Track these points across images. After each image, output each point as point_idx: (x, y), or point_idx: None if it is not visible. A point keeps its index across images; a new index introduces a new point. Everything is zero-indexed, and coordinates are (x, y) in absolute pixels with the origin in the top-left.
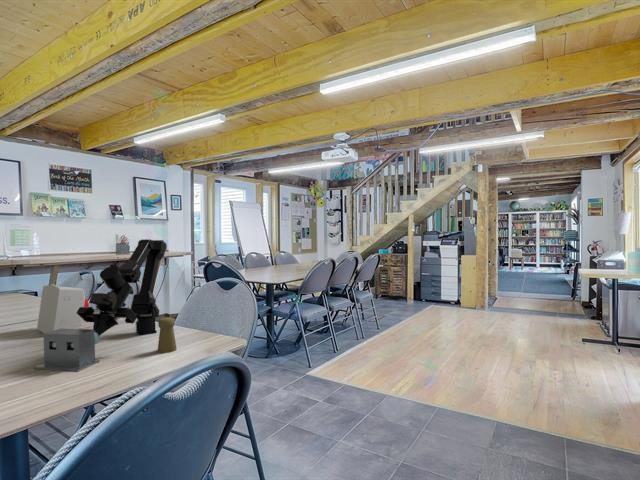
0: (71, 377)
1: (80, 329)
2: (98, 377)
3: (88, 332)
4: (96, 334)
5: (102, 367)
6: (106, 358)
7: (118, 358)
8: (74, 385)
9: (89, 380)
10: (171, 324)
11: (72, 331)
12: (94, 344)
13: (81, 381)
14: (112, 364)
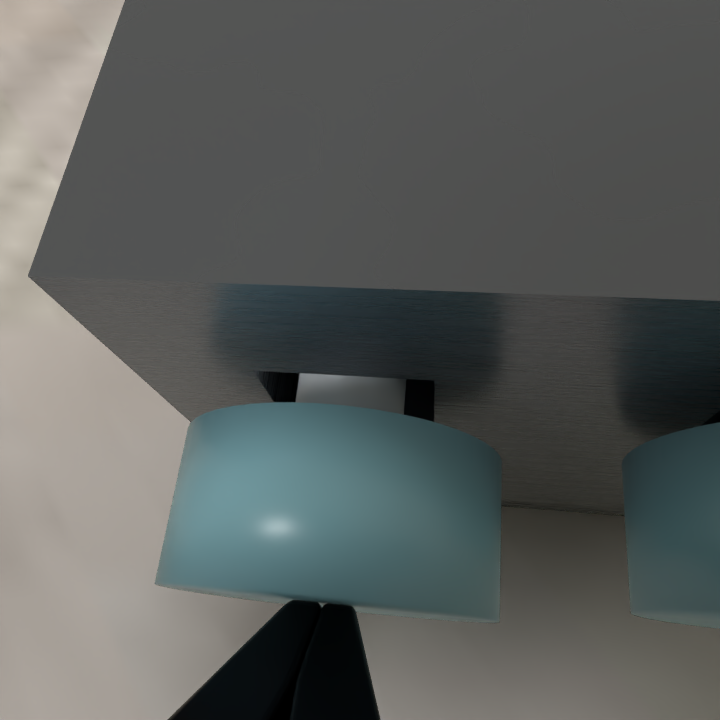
0: None
1: (476, 261)
2: (8, 131)
3: (101, 126)
4: (171, 537)
5: (81, 326)
6: (189, 627)
7: (27, 631)
8: (110, 10)
9: (50, 81)
10: None
11: (527, 66)
12: (185, 410)
13: (100, 62)
14: (15, 413)
